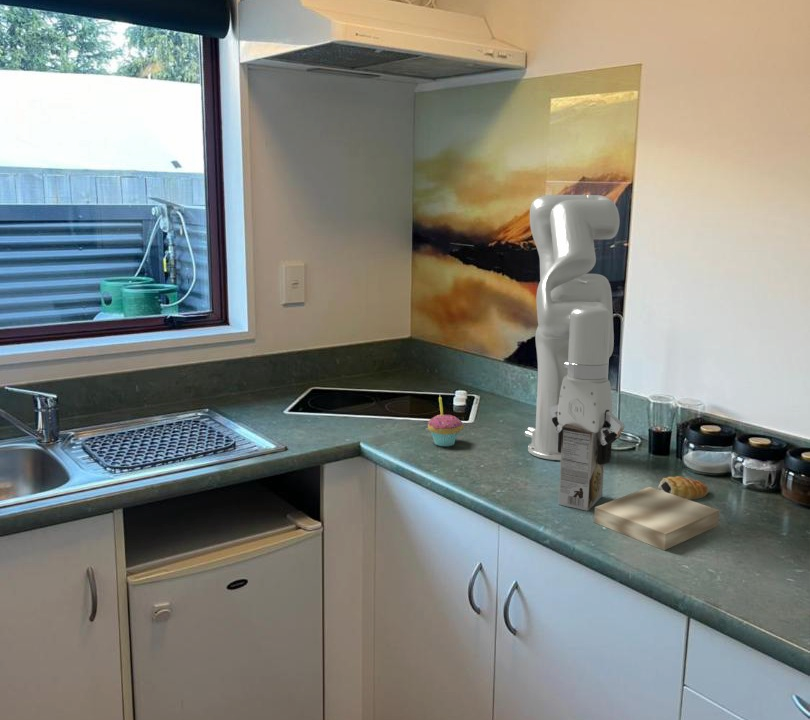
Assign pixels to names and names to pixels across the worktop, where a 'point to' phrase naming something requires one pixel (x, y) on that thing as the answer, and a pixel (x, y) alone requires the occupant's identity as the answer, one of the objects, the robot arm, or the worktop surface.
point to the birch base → (656, 517)
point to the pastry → (683, 487)
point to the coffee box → (579, 468)
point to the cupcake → (444, 428)
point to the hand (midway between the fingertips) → (583, 457)
